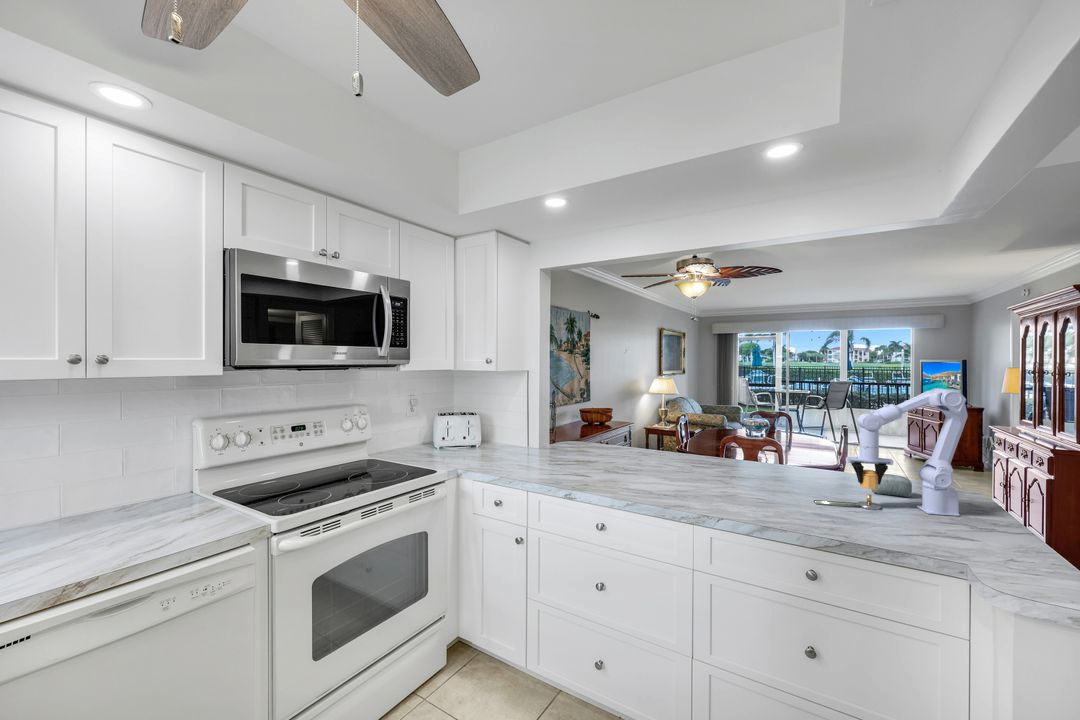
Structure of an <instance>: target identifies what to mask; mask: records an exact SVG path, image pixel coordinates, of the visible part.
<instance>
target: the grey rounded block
mask: <svg viewBox="0 0 1080 720" xmlns="http://www.w3.org/2000/svg"><path fill="white" fill-rule="evenodd" d="M870 490H871V491H872V493H874V494H879V495H880V494H881V495H887V496H888V495H889V496H896V497H905V498H907V497H910V496H912V494H913V493H912V492H913V483H912V481H911V480H910V479H909V478H908V477H906V476H902V475H897V474H890V473H884V475H883V477H882V480H881V483H880V484H878V489H870Z"/></svg>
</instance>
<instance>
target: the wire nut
mask: <svg viewBox="0 0 1080 720" xmlns="http://www.w3.org/2000/svg"><path fill="white" fill-rule="evenodd" d="M859 486H860V488H863V489H868V490H871V489H878V476H877V473H876V471H875V470H873V469H872V470H871V469H863V483H859Z"/></svg>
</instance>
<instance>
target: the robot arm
mask: <svg viewBox="0 0 1080 720" xmlns="http://www.w3.org/2000/svg"><path fill="white" fill-rule="evenodd" d="M966 401H967V398H966V397H965V396H964V395H963V394H962V393H961V392H960V391H958V390H956V389H947V388H941V387H937V388H936V387H935V388H932V389H931V390H926V391H924V392H922V393H920V394H917V395H916V396H914V397H912V398H909V399H908V400H905V401H903V402H901V403H899V404H896V405H895V404H892V403H890V404H888V403H884V404H883V405H882V406H883V407H880V408H878V409H875V410H873V409H872V410H870V411H869V413H863V414H860V415H859V416H858V418H857V420H856V423H857V425H858V427H859V456H845V463H848V464H851V466H852V469H853V470H854V472H855V475H856V477H857V482H858V483H859V484H860V483H863V470H864V469H865V466H863V464H869V465H870V464H871V465H874V469H875V470H874V471H876V473H877V476H878V484H880V483H881V480H882V477H883V475H884V474H886V471H887V470H888V469H889V466H894V460H893V459H892V458H884V457H880V455H879V453H880V451H879V450H880V442H879V440H880V439H879V437H880V433H879V430H881V428H882V426H885V425H887V424H889V423H890V424H891V423H893V422H895V421H897V420H899V419H902V416H903V414H905V413H908V412H910V411H913V410H916V409H919V408H921V407H924V406H935V407H937V408H938V409H939V410H940V412H942V413H943V414H944V416H945V418H944V421H943V424H942V426H941V429H940V431H939V432H940V433H939V434H938V437H937V441H936V443H935V446H934V448H933V451H932V454H931V457H930V458H928V459H927V460H925V462H924V464H923V466H921V467H920V468H919V469H918V477H919V478H920V480H921V481H922V482H921V483H922V484H921V505H916V507H917V508H918V509H919V510H921V511H923V512H925V513H926V514H928V515H938V516H939V515H942V516H953V517H954V516H955V517H960V516H961V514H959V511H960V510H959V505H960V504H959V503H960V502H959V501H960V500H959V497H960V496H959V494H958V491H957V490H956V489H955V487H951V486H952V485H953V483H954V478H953V473H954V468H953V467H952V464H951V463H952V460H953V458H954V455H955V452H956V449H957V447H958V444H959V441H960V438H961V436H962V432H963V430H964V429H965V424H966V423H967V422H966V421H967V419H968V410H967V407H966ZM888 465H889V466H888Z"/></svg>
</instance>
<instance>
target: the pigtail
mask: <svg viewBox="0 0 1080 720" xmlns="http://www.w3.org/2000/svg"><path fill="white" fill-rule="evenodd" d="M813 503H815V505H816V506H817V505H821V506H832V507H833V506H834V507H846V508H847V507H849V508H850V507H851V508H860V509H865V510H868V511H880V510H882V506H881V504H879V503H877V502H872V494H869V493H868V494H867V493H866V501H863V500H861V501H858V502H849V501H848V502H847V501H836V500H834V501H833V500H820V499H814V500H813Z"/></svg>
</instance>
